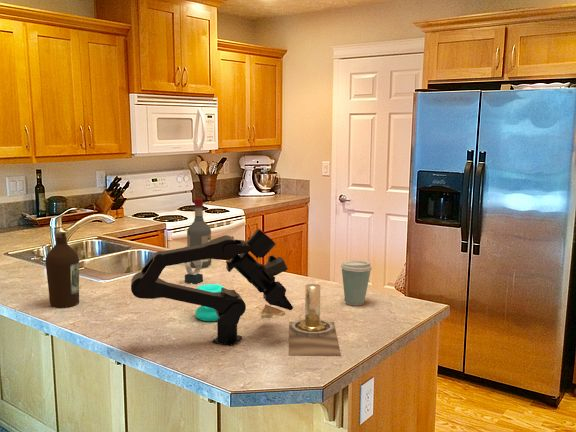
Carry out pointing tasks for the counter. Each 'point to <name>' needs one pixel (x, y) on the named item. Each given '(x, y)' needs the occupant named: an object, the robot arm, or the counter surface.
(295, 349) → the carrier plate
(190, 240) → the liquor
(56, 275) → the olive oil
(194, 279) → the watch
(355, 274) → the disposable coffee cup
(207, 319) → the turquoise yo-yo shaped spool
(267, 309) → the shard
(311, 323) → the gold piece
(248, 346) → the counter surface
